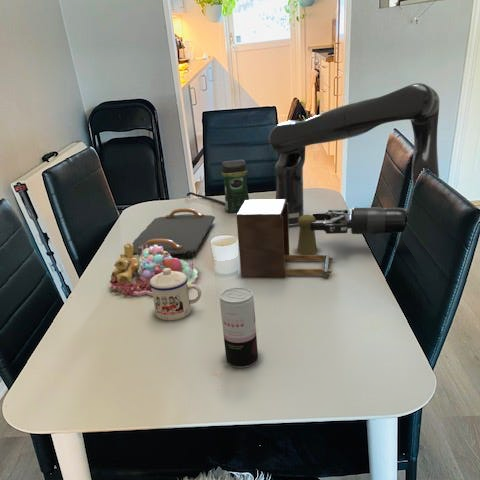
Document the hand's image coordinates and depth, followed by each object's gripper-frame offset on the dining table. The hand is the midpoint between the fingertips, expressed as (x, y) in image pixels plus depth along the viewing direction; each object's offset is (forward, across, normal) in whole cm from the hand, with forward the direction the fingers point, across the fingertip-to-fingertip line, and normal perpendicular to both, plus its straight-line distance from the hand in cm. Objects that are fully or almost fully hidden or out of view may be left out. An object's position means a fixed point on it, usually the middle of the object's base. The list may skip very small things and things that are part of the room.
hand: (311, 221), depth 146 cm
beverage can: (+10, +59, +10) cm, 61 cm away
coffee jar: (+32, -43, +9) cm, 54 cm away
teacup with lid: (+30, +40, +9) cm, 51 cm away
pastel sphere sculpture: (+43, +21, +9) cm, 49 cm away
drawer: (0, +13, +9) cm, 16 cm away
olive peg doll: (+1, 0, +10) cm, 10 cm away
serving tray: (+47, -10, +9) cm, 49 cm away
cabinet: (+12, +13, +9) cm, 20 cm away
